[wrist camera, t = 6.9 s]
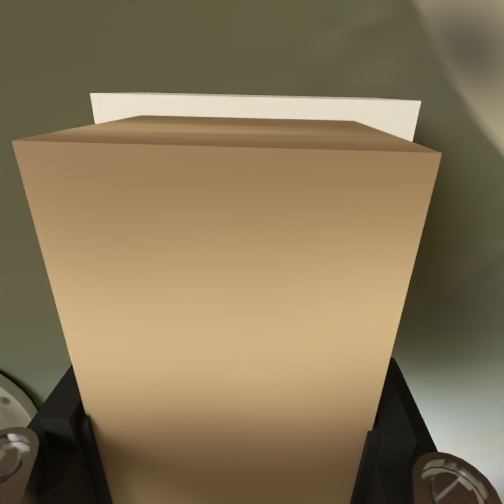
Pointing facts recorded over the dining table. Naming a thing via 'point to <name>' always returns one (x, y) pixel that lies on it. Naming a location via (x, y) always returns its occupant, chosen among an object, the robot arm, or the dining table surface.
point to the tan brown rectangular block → (229, 295)
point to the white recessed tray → (262, 108)
